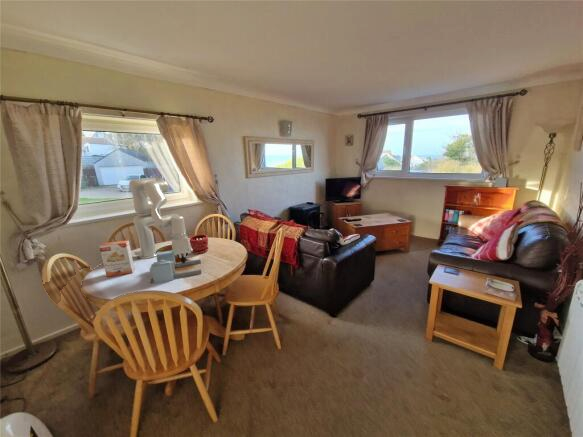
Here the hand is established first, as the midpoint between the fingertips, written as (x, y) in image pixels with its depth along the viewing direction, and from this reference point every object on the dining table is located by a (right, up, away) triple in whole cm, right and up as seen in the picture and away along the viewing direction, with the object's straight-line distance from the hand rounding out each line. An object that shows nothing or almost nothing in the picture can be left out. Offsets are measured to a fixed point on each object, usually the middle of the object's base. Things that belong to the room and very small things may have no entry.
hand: (183, 262), depth 150 cm
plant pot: (-2, +2, +32) cm, 32 cm away
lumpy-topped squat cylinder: (-11, -7, -3) cm, 14 cm away
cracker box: (-40, -7, 0) cm, 41 cm away
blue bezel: (-10, -7, -2) cm, 13 cm away
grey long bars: (-4, -6, 0) cm, 7 cm away
